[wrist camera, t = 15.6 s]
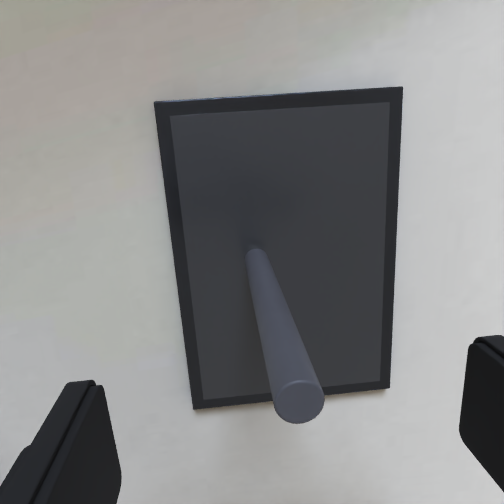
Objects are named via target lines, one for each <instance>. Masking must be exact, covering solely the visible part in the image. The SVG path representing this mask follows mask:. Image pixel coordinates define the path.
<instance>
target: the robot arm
mask: <svg viewBox="0 0 504 504" xmlns="http://www.w3.org/2000/svg"><path fill="white" fill-rule="evenodd" d="M459 432H460V436H461V438H462V440H463V442H464V444H465V445H466V446H467V447H468V449H469V450H470V451H471V452H472V454H473V455H474V456H475V457H476V459H477V460H478V461H479V462H480V463H481V465H482V466H483V467H484V468H485V470H486V471H487V472H488V473H489V475H490V476H491V477H492V478H493V479H494V481H495V482H496V483H497V484H498V486H499V487H500V488H501V489H502V491H503V492H504V336H502V335H494V336H485V337H478V338H476V339H475V340H474V342H473V344H470V346H469V348H468V355H467V364H466V372H465V381H464V389H463V398H462V407H461V415H460V424H459ZM120 487H121V468H120V464H119V459H118V454H117V449H116V444H115V440H114V435H113V430H112V425H111V421H110V416H109V411H108V406H107V401H106V397H105V392H104V388H103V386H102V385H97V386H96V383H95V382H94V380H86V381H77V382H69V383H67V384H66V386H65V387H64V389H63V391H62V392H61V394H60V396H59V397H58V399H57V401H56V402H55V404H54V406H53V408H52V409H51V411H50V413H49V414H48V416H47V418H46V419H45V421H44V423H43V425H42V426H41V428H40V430H39V431H38V433H37V435H36V436H35V438H34V440H33V442H32V443H31V445H29V446H27V447H26V448H24V449H23V451H22V452H21V453H20V455H19V456H18V458H17V460H16V461H15V463H14V465H13V466H12V468H11V469H10V471H9V473H8V474H7V476H6V478H5V479H4V481H3V483H2V484H1V486H0V504H116V503H117V499H118V496H119V492H120Z"/></svg>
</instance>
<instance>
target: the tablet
mask: <svg viewBox="0 0 504 504" xmlns="http://www.w3.org/2000/svg"><path fill="white" fill-rule="evenodd" d="M402 99H403V87H386V88H369V89H353V90H336V91H320V92H304V93H287V94H271V95H255V96H238V97H222V98H206V99H189V100H173V101H156V102H154V108H155V116H156V124H157V132H158V139H159V147H160V155H161V163H162V170H163V178H164V186H165V194H166V202H167V209H168V217H169V225H170V233H171V240H172V248H173V256H174V264H175V272H176V279H177V287H178V295H179V303H180V310H181V318H182V326H183V334H184V342H185V349H186V357H187V365H188V373H189V380H190V388H191V396H192V404H193V409H204V408H213V407H222V406H231V405H240V404H250V403H259V402H268V401H273V399H272V394H271V389H270V384H269V379H268V374H267V369H266V364H265V360H264V355H263V350H262V345H261V340H260V335H259V330H258V325H257V320H256V316H255V311H254V306H253V301H252V296H251V291H250V286H249V281H248V277H247V272H246V267H245V262H244V259H245V255H246V254H247V252H248V251H250V250H252V249H261V250H263V251H264V252H265V253H266V254H267V256H268V259H269V261H270V264H271V266H272V268H273V271H274V273H275V276H276V278H277V281H278V283H279V286H280V288H281V290H282V293H283V295H284V298H285V300H286V303H287V305H288V308H289V310H290V312H291V315H292V317H293V320H294V322H295V325H296V327H297V329H298V332H299V334H300V337H301V339H302V342H303V344H304V347H305V349H306V351H307V354H308V356H309V359H310V361H311V364H312V366H313V369H314V371H315V373H316V376H317V378H318V381H319V383H320V386H321V388H322V391H323V393H324V395H332V394H342V393H351V392H360V391H369V390H378V389H388V388H390V371H391V349H392V326H393V303H394V280H395V258H396V235H397V212H398V190H399V167H400V144H401V121H402Z"/></svg>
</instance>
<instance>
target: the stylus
mask: <svg viewBox="0 0 504 504" xmlns="http://www.w3.org/2000/svg"><path fill="white" fill-rule="evenodd" d="M244 262H245V267H246V272H247V277H248V281H249V286H250V291H251V296H252V301H253V306H254V311H255V316H256V320H257V325H258V330H259V335H260V340H261V345H262V350H263V355H264V360H265V364H266V369H267V374H268V379H269V384H270V389H271V394H272V399H273V404H274V408H275V411H276V413H277V414H278V415H279V416H280V417H281V418H282V419H283V420H285V421H287V422H290V423H294V424H300V423H305V422H308V421H310V420H312V419H314V418H315V417H316V416H317V415H318V414H319V413H320V412H321V410H322V408H323V405H324V393H323V391H322V388H321V386H320V383H319V381H318V378H317V376H316V373H315V371H314V369H313V366H312V364H311V361H310V359H309V356H308V354H307V351H306V349H305V347H304V344H303V342H302V339H301V337H300V334H299V332H298V329H297V327H296V325H295V322H294V320H293V317H292V315H291V312H290V310H289V308H288V305H287V303H286V300H285V298H284V295H283V293H282V290H281V288H280V286H279V283H278V281H277V278H276V276H275V273H274V271H273V268H272V266H271V264H270V261H269V259H268V256H267V254H266V253H265V252H264V251H263V250H261V249H252V250H250V251H248V252H247V254H246V255H245V259H244Z"/></svg>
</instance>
